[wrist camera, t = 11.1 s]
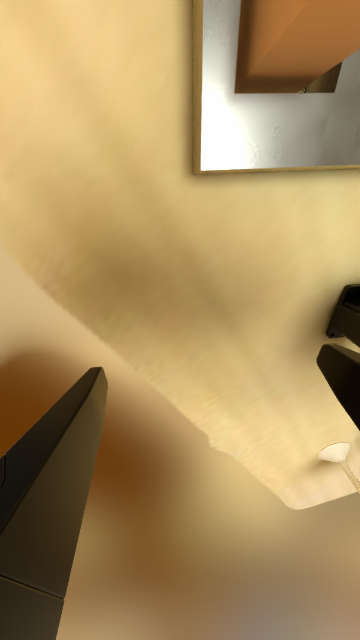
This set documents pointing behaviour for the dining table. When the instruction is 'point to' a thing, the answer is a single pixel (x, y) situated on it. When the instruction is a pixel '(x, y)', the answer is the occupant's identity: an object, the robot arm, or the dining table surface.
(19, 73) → the dining table surface
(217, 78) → the socket plate
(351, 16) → the peg
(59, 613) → the robot arm
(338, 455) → the champagne flute
